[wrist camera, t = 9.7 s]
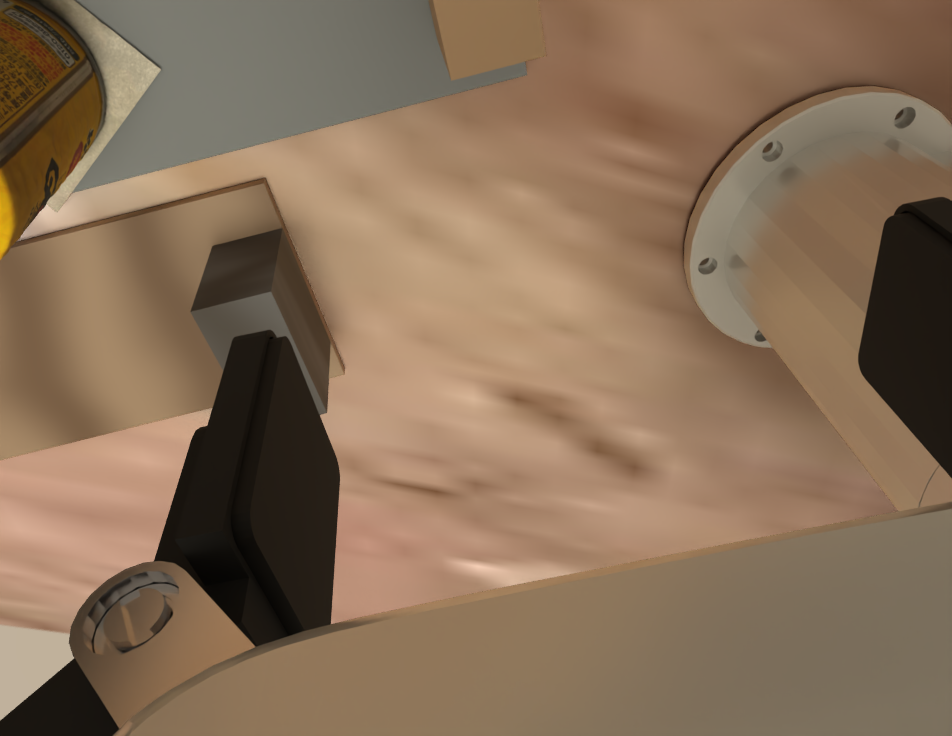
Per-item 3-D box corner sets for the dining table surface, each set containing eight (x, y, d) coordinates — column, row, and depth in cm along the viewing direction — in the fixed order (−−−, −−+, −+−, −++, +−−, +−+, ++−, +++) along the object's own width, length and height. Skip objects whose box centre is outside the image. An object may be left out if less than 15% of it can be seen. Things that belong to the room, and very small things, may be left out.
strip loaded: (469, -270, 22) (497, -290, 17) (524, 71, 28) (555, 119, 23) (-292, -62, 22) (-449, -31, 18) (-72, 225, 28) (-150, 300, 24)
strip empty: (265, 178, 29) (248, 243, 25) (344, 368, 35) (342, 446, 31) (-301, 323, 30) (-414, 411, 25) (-125, 485, 36) (-192, 578, 31)
